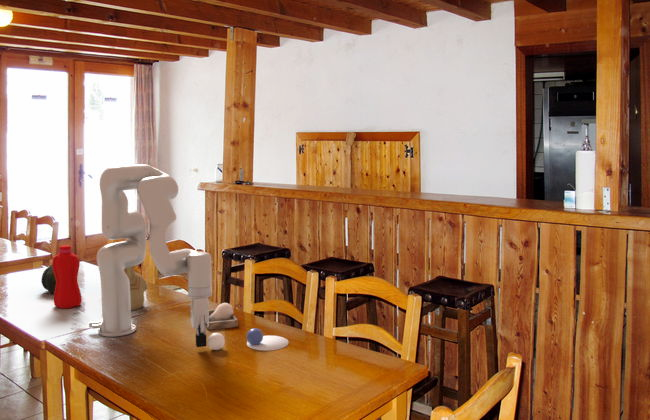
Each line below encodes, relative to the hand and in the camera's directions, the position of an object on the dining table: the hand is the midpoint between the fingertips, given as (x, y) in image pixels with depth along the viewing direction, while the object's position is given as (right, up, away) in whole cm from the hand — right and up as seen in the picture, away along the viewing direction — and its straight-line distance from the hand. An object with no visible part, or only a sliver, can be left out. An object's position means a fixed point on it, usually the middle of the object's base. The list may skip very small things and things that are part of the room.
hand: (201, 345), depth 191 cm
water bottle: (-65, +5, +50) cm, 82 cm away
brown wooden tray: (+1, +2, +30) cm, 30 cm away
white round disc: (+21, -1, +7) cm, 22 cm away
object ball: (+17, +2, +5) cm, 18 cm away
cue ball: (+5, +1, +1) cm, 5 cm away
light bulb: (+1, +2, +30) cm, 30 cm away
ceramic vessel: (-40, +4, +48) cm, 62 cm away
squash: (-78, +8, +72) cm, 106 cm away
